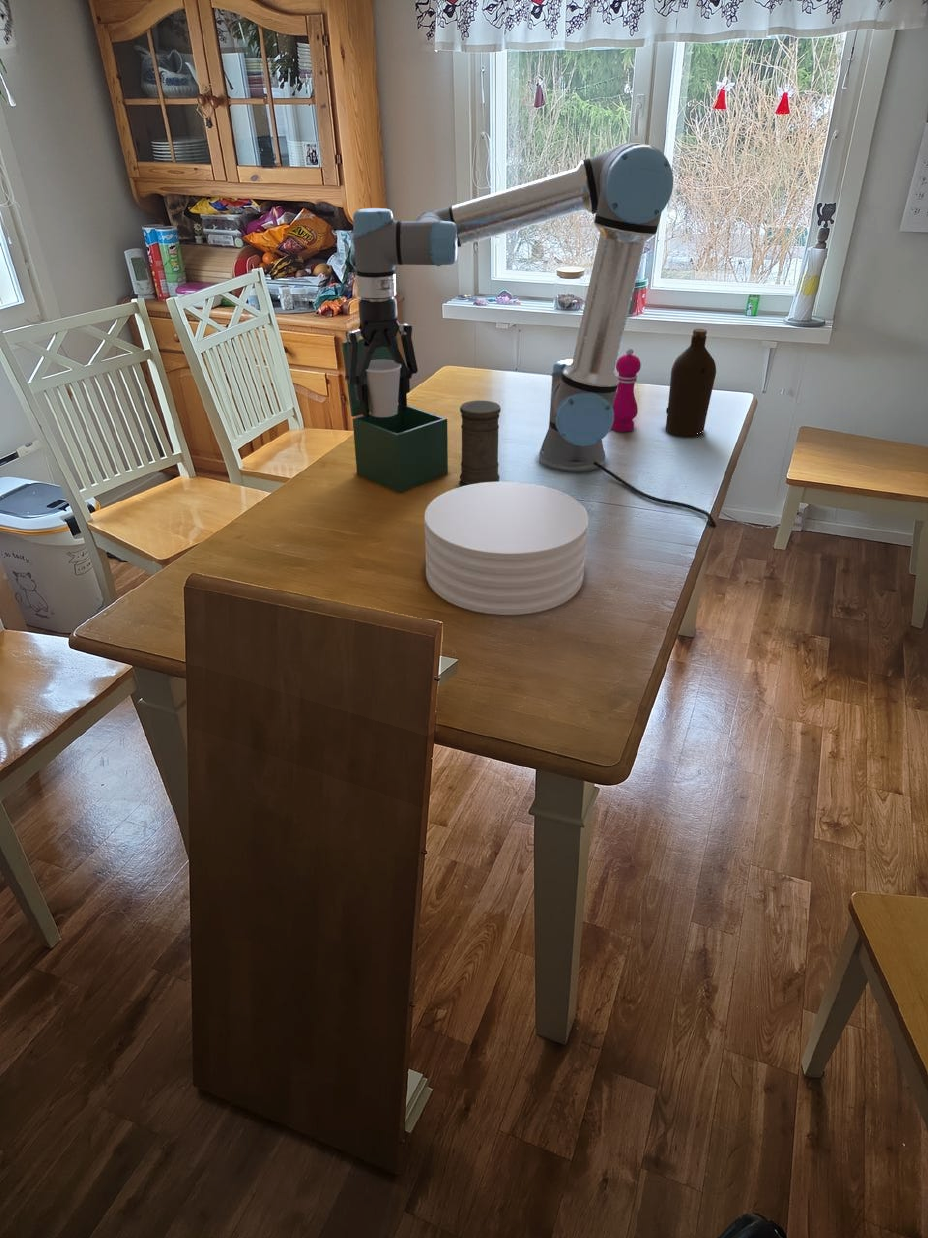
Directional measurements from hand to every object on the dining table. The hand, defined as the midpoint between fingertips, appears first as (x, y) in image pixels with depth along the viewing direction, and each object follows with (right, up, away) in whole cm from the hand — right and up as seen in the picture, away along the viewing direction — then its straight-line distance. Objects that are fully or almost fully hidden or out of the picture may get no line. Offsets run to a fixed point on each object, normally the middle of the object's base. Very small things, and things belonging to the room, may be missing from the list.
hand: (384, 411), depth 167 cm
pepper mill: (+57, +5, +38) cm, 69 cm away
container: (+20, -15, +6) cm, 26 cm away
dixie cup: (0, 0, 0) cm, 0 cm away
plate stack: (+24, -36, -25) cm, 50 cm away
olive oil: (+73, +4, +35) cm, 81 cm away
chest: (+3, -11, +12) cm, 16 cm away
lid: (-2, +10, +5) cm, 11 cm away
